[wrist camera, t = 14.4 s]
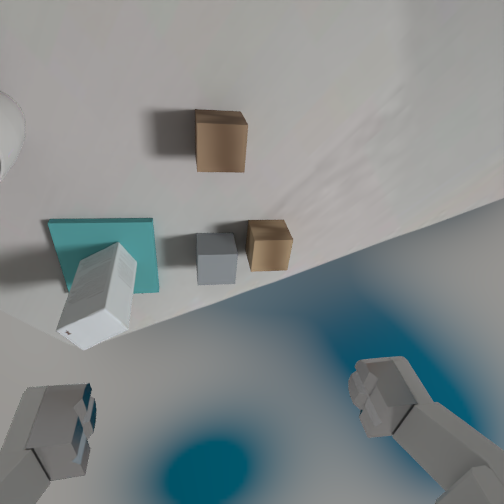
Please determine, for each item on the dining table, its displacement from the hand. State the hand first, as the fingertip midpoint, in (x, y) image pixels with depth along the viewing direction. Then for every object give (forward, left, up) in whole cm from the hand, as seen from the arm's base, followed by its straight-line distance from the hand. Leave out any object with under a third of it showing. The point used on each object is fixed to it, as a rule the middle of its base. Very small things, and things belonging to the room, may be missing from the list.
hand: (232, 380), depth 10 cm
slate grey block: (+3, -19, -33) cm, 38 cm away
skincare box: (-11, -20, -32) cm, 39 cm away
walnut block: (+3, -3, -33) cm, 33 cm away
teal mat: (-11, -20, -33) cm, 40 cm away
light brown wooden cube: (+10, -17, -33) cm, 38 cm away
